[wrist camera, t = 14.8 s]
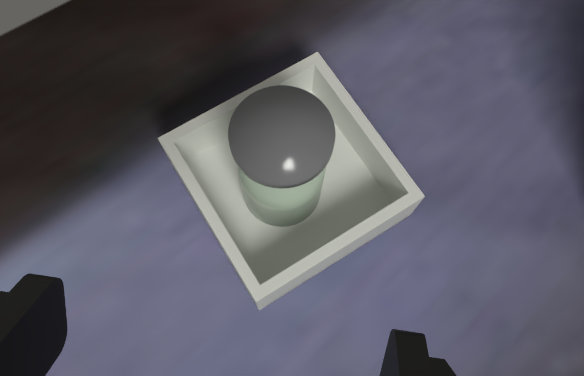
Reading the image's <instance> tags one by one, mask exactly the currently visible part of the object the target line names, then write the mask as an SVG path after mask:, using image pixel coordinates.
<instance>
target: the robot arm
mask: <svg viewBox="0 0 584 376" xmlns="http://www.w3.org/2000/svg"><path fill="white" fill-rule="evenodd" d="M66 336H67V318H66V307H65V296H64V286H63V282H62V280H61V279H60V278H56V277H49V276H42V275H35V274H27V275H25V276H24V277H23V278H22V279H21V280H20V281H19V282H18V283H17V284H16V285H15V286H14V287H13V288H12V289H11V291H10V292H3V291H0V376H45V375H46V374H47V372H48V371H49V369H50V368H51V366H52V365H53V363H54V362H55V360H56V359H57V358H58V356H59V355H60V353H61V351H62V349H63V347H64V344H65V340H66ZM380 376H456V374H455V373H454V372H453V370H452V369H451V367H450V366H449V365H448V363H447V362H446V361H445V359H439V358H432V357H429V355H428V349H427V344H426V339H425V335H424V334H423V333H416V332H409V331H403V330H396V329H392V330H391V333H390V336H389V340H388V344H387V348H386V352H385V356H384V360H383V364H382V368H381V372H380Z"/></svg>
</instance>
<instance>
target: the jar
mask: <svg viewBox="0 0 584 376" xmlns="http://www.w3.org/2000/svg"><path fill="white" fill-rule="evenodd" d="M335 135H336V133H335V125H334V121H333V118H332V116H331V114H330V112H329V110H328V109H327V107H326V106H325V105H324V103H323V102H322V101H321V100H320V99H318V98H317V97H316V96H315V95H313V94H311V93H310V92H308V91H306V90H304V89H301V88H298V87H293V86H286V85H277V86H270V87H266V88H263V89H260V90H257V91H256V92H254V93H252V94H250V95H249V96H247V97H246V98H245V99H244V100H243V101H242V102H241V103H240V104H239V105H238V106H237V108H236V109H235V111H234V112H233V115H232V117H231V119H230V123H229V128H228V140H229V146H230V150H231V154H232V157H233V159H234V161H235V163H236V164H237V168H238V173H239V178H240V183H241V187H242V192H243V197H244V201H245V203H246V206H247V207H248V209H249V211H250V212H251V213H252V214H253V215H254V216H255V217H256V218H257V219H259V220H260V221H262V222H264V223H266V224H268V225H272V226H278V227H286V226H292V225H295V224H298V223H300V222H302V221H304V220H305V219H306V218H308V217H309V216H310V215H311V214H312V213H313V211H314V210H315V209H316V207H317V205H318V202H319V199H320V195H321V190H322V185H323V180H324V175H325V171H326V166H327V164H328V162H329V160H330V158H331V156H332V152H333V148H334V143H335Z"/></svg>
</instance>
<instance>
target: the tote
mask: <svg viewBox="0 0 584 376" xmlns="http://www.w3.org/2000/svg"><path fill="white" fill-rule="evenodd" d="M277 85H286V86H293V87H298V88H301V89H304V90H306V91H308V92H310V93H311V94H313V95H315V96H316V97H317V98H318V99H320V100H321V101H322V102H323V103H324V105H325V106H326V107H327V109H328V110H329V112H330V114H331V116H332V118H333V121H334V125H335V133H336V135H335V143H334V148H333V152H332V156H331V158H330V160H329V162H328V164H327V166H326V171H325V175H324V180H323V185H322V190H321V195H320V199H319V202H318V205H317V207H316V209H315V210H314V211H313V213H312V214H311V215H310V216H309V217H308V218H306V219H305V220H304V221H302V222H300V223H298V224H295V225H292V226H286V227H278V226H272V225H268V224H266V223H264V222H262V221H260V220H259V219H257V218H256V217H255V216H254V215H253V214H252V213H251V212H250V211H249V209H248V207H247V206H246V203H245V201H244V197H243V192H242V187H241V183H240V178H239V173H238V168H237V164H236V163H235V161H234V159H233V157H232V154H231V150H230V146H229V140H228V128H229V123H230V119H231V117H232V115H233V112H234V111H235V109H236V108H237V106H238V105H239V104H240V103H241V102H242V101H243V100H244V99H245V98H246V97H247V96H249V95H250V94H252V93H254V92H256V91H257V90H260V89H263V88H266V87H270V86H277ZM158 140H159V142H160V144H161V145H162V147H163V149H164V151H165V153H166V155H167V157H168V159H169V161H170V162H171V164H172V166H173V168H174V169H175V171H176V173H177V174H178V176H179V178H180V179H181V181H182V183H183V184H184V186H185V188H186V189H187V191H188V193H189V194H190V196H191V198H192V199H193V201H194V203H195V204H196V206H197V208H198V209H199V211H200V213H201V214H202V216H203V218H204V219H205V221H206V223H207V224H208V226H209V228H210V229H211V231H212V233H213V235H214V236H215V238H216V240H217V241H218V243H219V245H220V246H221V248H222V250H223V251H224V253H225V255H226V256H227V258H228V260H229V261H230V263H231V265H232V266H233V268H234V270H235V271H236V273H237V275H238V276H239V278H240V280H241V281H242V283H243V285H244V286H245V288H246V290H247V291H248V293H249V295H250V296H251V298H252V300H253V301H254V303H255V305H256V306H257V308H258V310H261V309H262V308H264V307H266V306H267V305H269V304H270V303H272V302H274V301H275V300H277V299H278V298H280V297H281V296H283V295H285V294H286V293H288V292H289V291H291V290H293V289H294V288H296V287H297V286H299V285H301V284H302V283H304V282H305V281H307V280H308V279H310V278H312V277H313V276H315V275H316V274H318V273H320V272H321V271H323V270H324V269H326V268H327V267H329V266H331V265H332V264H334V263H335V262H337V261H339V260H340V259H342V258H343V257H345V256H346V255H348V254H350V253H351V252H353V251H354V250H356V249H358V248H359V247H361V246H362V245H364V244H366V243H367V242H369V241H370V240H372V239H373V238H375V237H377V236H378V235H380V234H381V233H383V232H385V231H386V230H388V229H389V228H391V227H392V226H394V225H396V224H397V223H399V222H400V221H402V220H404V219H405V218H407V217H408V216H410V214H411V213H412V212H413V211H414V209H415V208H416V207H417V206H418V204H419V203H420V202H421V201H422V199H423V198H424V197H425V196H424V195H423V193H422V192H421V191H420V189H419V188H418V187H417V185H416V184H415V183H414V181H413V180H412V178H411V177H410V176H409V174H408V173H407V172H406V170H405V169H404V168H403V166H402V165H401V164H400V162H399V161H398V160H397V158H396V157H395V156H394V154H393V153H392V151H391V150H390V149H389V147H388V146H387V145H386V143H385V142H384V141H383V139H382V138H381V137H380V135H379V134H378V133H377V131H376V130H375V129H374V127H373V126H372V124H371V123H370V122H369V120H368V119H367V118H366V116H365V115H364V114H363V112H362V111H361V110H360V108H359V107H358V106H357V104H356V103H355V102H354V100H353V99H352V97H351V96H350V95H349V93H348V92H347V91H346V89H345V88H344V87H343V85H342V84H341V83H340V81H339V80H338V79H337V77H336V76H335V75H334V73H333V72H332V71H331V69H330V68H329V66H328V65H327V64H326V62H325V61H324V60H323V58H322V57H321V56H320V54H319V53H318V52H316V53H314V54H313V55H311V56H309V57H307V58H305V59H303V60H301V61H300V62H298V63H296V64H294V65H292V66H290V67H289V68H287V69H285V70H283V71H281V72H279V73H277V74H276V75H274V76H272V77H270V78H268V79H266V80H264V81H263V82H261V83H259V84H257V85H255V86H253V87H251V88H250V89H248V90H246V91H244V92H242V93H240V94H238V95H237V96H235V97H233V98H231V99H229V100H227V101H226V102H224V103H222V104H220V105H218V106H216V107H214V108H213V109H211V110H209V111H207V112H205V113H203V114H201V115H200V116H198V117H196V118H194V119H192V120H190V121H188V122H187V123H185V124H183V125H181V126H179V127H177V128H175V129H174V130H172V131H170V132H168V133H166V134H164V135H163V136H161V137H159V138H158Z"/></svg>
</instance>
